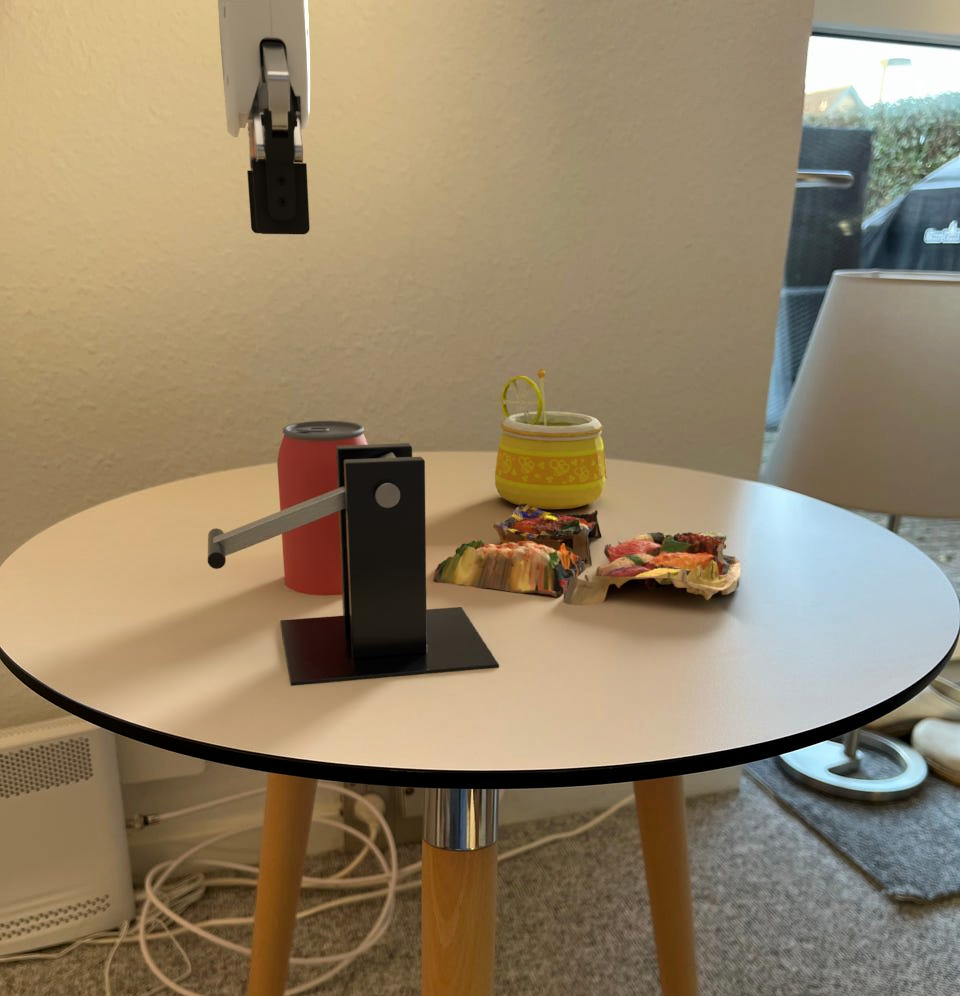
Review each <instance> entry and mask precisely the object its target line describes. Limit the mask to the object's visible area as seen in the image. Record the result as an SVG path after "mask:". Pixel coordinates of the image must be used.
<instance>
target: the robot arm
mask: <svg viewBox="0 0 960 996" xmlns="http://www.w3.org/2000/svg"><path fill="white" fill-rule="evenodd" d="M217 9H218V12H217V13H218V26H219V27H218V28H219V38H220V41H219V42H220V53H221V67H222V81H223V94H224V105H225V118H226V120H225V121H226V131H227V132H228V133H229V135H230V136H232V137H233V138H239V133H240V130H241V129H245V128H246V126H247V132H248V133H247V134H248V149H249V153H248V154H249V167H250V168H249V169H250V170H247V173H246V174H247V185H248V186H247V187H248V200H249V201H248V202H249V216H250V228H251V229H250V230H251V231H252V233H254V234H261V235H306V234H308V233H309V232H310V228H311V227H310V209H309V208H310V207H309V189H308V188H309V187H308V169H307V168H308V167H307V163H306V162H304V144H303V137H302V133H303V132H304V131H305V130H306V129H307V128H308V127H309V123H310V108H311V107H310V104H311V47H310V46H311V45H310V23H309V22H310V20H309V16H310V15H309V0H217Z"/></svg>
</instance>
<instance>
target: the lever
mask: <svg viewBox="0 0 960 996" xmlns="http://www.w3.org/2000/svg"><path fill="white" fill-rule="evenodd" d="M378 458H396V456H395V455H394V454H393V453H392V452H391V453H388V454H385V455H383V456H380V457H378ZM344 509H346V505H345V486H343V487H340V488H338V489H335V490H333V491H330V492H328V493H325V494H323V495H320V496H318V497H315V498H312V499H310V500H307V501H305V502H302V503H300V504H297V505H295V506H292V507H290V508H287V509H285V510H282V511H277V512H274V513H272V514H269V515H267V516H264V517H262V518H260V519H257V520H254V521H251V522H249V523H247V524H244V525H241V526H239V527H236V528H234V529H231V530H229V531H226V532H224V531H223V530H222V529H220V528H212V529H211V530H209V532H208V534H207V564H208V566H209V567H210V568H212V569H214V570H218V569H219V570H220V569H222V568H223V567H224V566H225V565H226V561H227V560H226V559H227V558H226V557H227V556H230V555H232V554H235V553H237V552H241V551H242V550H245V549H247V548H249V547H252V546H255V545H257V544H260V543H263V542H265V541H268V540H271V539H273V538H276V537H278V536H280V535H282V534H283V533H285V532H288V531H290V530H293V529H296V528H298V527H301V526H303V525H306V524H308V523H311V522H313V521H316V520H318V519H321V518H323V517H326V516H328V515H331V514H333V513H336V512H338V511H341V510H344Z"/></svg>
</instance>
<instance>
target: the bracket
mask: <svg viewBox="0 0 960 996" xmlns="http://www.w3.org/2000/svg"><path fill="white" fill-rule="evenodd" d="M391 452H392V453H393V454H394V455H395V456H396V458H378V457H380V456H383V455H385V454H388V453H391ZM336 462H337V485H338V488H340V487H343V486H345V505H346V509H344V510H341V511H339V532H340V555H341V578H342V595H341V599H342V615H333V616H332V615H331V616H319V617H318V616H317V617H306V618H305V617H304V618H292V619H282V620H281V619H280V621H279V624H280V629H281V631H280V632H281V636H282V642H283V647H284V648H283V649H284V653H285V659H286V666H287V671H288V678H289V683H290V687H294V686H304V685H315V684H328V683H339V682H340V683H341V682H350V681H364V680H372V679H385V678H397V677H408V676H419V675H429V674H430V675H431V674H440V673H441V674H442V673H453V672H465V671H476V670H487V669H488V670H489V669H498V668H500V664H499V662H498V660H497V658H495V656H494V655H493V653H492V651H491V650H490V648H489V646H488V645H487V643H485V641H484V639H483V637H482V636H481V634H479V632H478V630H477V628H476V627H475V625H474V623H473V622H472V621H471V619H470V618H469V616H468V615H467V613H466V612H465V610H464V609H463V607H462V606H455V607H443V608H442V607H441V608H429V609H427V540H426V538H427V536H426V535H427V534H426V533H427V532H426V531H427V530H426V529H427V528H426V460H425V459H424V458H423V457H422V456H413V446H412V445H411V443H409V442H402V443H401V442H400V443H372V444H368V445H342V446H336Z"/></svg>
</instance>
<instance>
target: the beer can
mask: <svg viewBox="0 0 960 996" xmlns="http://www.w3.org/2000/svg"><path fill="white" fill-rule="evenodd" d="M282 434H283V437H282V440H281V442H280V447H279V448H278V453H277V454H278V455H277V463H276V464H277V466H276V467H277V479H278V481H277V482H278V497H279V510H280V511H282V510H285V509H287V508H290V507H292V506H295V505H297V504H300V503H302V502H305V501H307V500H310V499H312V498H315V497H318V496H320V495H323V494H325V493H328V492H330V491H333V490H335V489H338V485H337V462H336V446H342V445H369V444H368V441H367V439H366V437H365V427H364V426H363V425H362V424H359V423H355V422H351V421H343V420H312V421H311V420H310V421H301V422H295V423H290V424H288V425H286V426H284V427H283V428H282ZM281 539H282V540H281V544H282V545H281V546H282V559H283V574H284V575H283V576H284V585H285V586H286V587H287V588H288V589H289V590H291V591H294V592H296V593H300V594H305V595H312V596H342V578H341V555H340V532H339V511H338V512H336V513H333V514H331V515H328V516H326V517H323V518H321V519H318V520H316V521H313V522H311V523H308V524H306V525H303V526H301V527H298V528H296V529H293V530H290V531H288V532H285V533H283V534H281Z"/></svg>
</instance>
